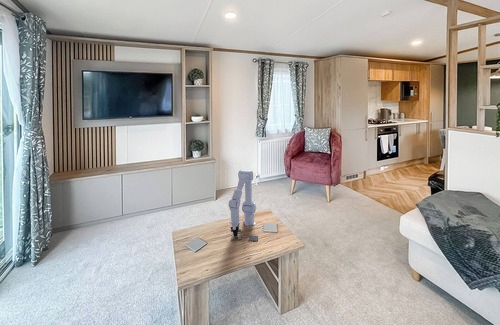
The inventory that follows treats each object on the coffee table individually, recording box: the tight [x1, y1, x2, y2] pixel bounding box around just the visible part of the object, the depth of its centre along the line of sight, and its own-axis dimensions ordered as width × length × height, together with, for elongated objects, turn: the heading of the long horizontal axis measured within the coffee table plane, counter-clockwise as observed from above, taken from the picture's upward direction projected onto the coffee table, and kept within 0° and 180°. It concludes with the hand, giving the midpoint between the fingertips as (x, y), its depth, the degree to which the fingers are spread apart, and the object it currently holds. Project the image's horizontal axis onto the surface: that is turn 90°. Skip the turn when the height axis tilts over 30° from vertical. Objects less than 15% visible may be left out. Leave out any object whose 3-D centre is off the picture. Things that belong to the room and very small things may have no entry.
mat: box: [248, 235, 259, 242], centre depth 182 cm, size 6×6×1 cm
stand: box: [230, 228, 242, 241], centre depth 182 cm, size 5×7×7 cm
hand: (235, 234), depth 182 cm, fingers closed on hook, 5 cm apart
